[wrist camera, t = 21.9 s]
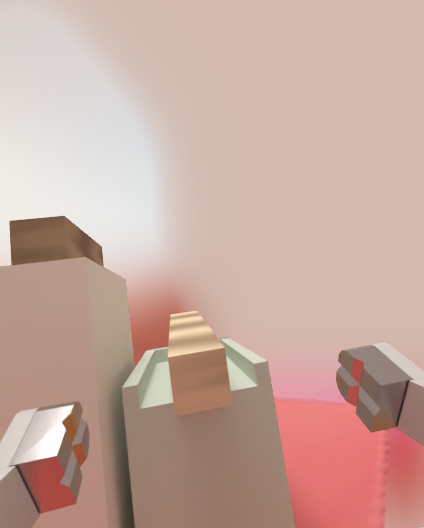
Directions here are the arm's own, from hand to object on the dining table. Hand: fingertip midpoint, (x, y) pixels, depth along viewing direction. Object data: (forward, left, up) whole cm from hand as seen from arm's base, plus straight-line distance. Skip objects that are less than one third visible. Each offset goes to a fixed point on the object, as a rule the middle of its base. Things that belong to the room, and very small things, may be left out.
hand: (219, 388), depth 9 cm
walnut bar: (-18, -1, +7) cm, 20 cm away
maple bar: (-16, +9, -3) cm, 19 cm away
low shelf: (-16, +9, -19) cm, 27 cm away
